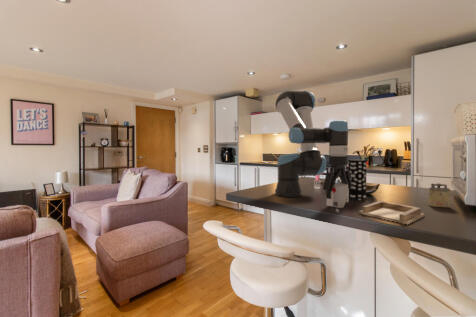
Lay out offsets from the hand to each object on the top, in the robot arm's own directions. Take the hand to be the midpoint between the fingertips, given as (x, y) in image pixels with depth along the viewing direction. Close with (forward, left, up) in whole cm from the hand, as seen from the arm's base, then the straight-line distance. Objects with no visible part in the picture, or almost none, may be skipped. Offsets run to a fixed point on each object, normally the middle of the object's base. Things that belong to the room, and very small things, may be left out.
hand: (337, 203), depth 96 cm
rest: (+19, +5, -1) cm, 20 cm away
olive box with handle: (+26, +35, -1) cm, 44 cm away
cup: (0, 0, -1) cm, 1 cm away
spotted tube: (-3, +22, -1) cm, 22 cm away
